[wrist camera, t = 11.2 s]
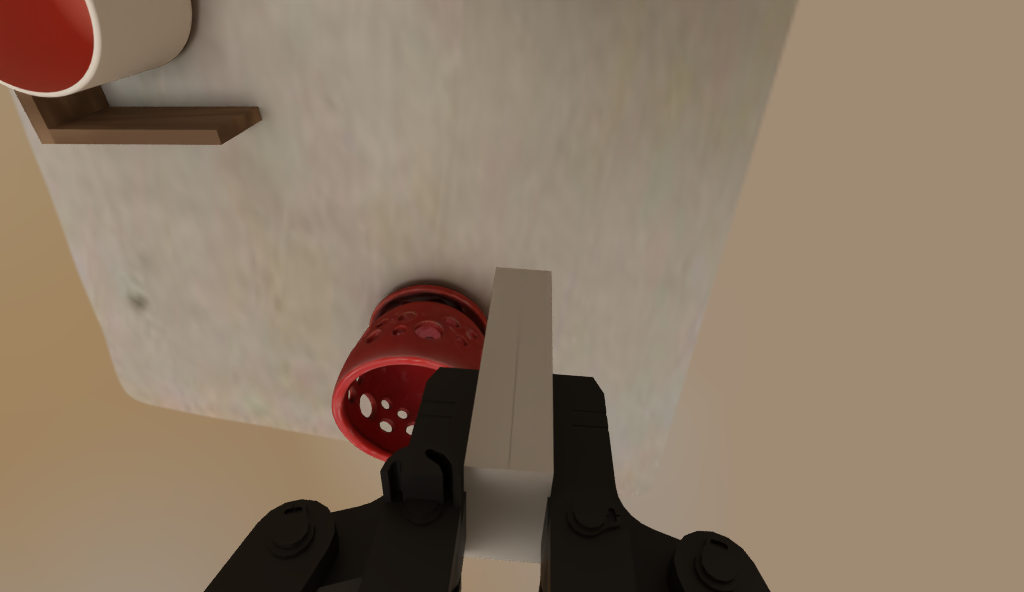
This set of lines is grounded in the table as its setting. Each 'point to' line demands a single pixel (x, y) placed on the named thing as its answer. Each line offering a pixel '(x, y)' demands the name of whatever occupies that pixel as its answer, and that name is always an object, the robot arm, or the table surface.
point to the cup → (86, 41)
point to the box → (131, 121)
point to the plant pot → (404, 362)
